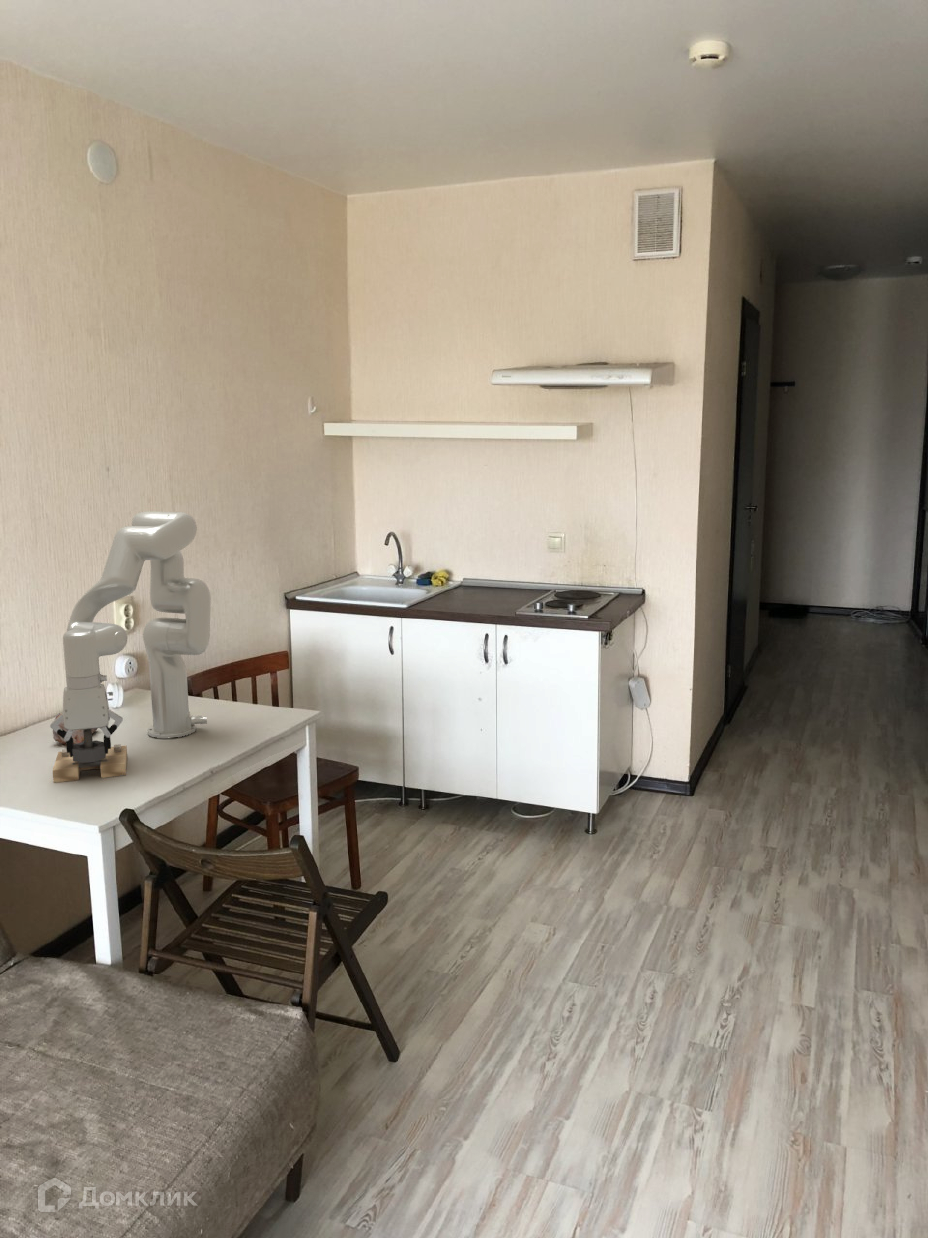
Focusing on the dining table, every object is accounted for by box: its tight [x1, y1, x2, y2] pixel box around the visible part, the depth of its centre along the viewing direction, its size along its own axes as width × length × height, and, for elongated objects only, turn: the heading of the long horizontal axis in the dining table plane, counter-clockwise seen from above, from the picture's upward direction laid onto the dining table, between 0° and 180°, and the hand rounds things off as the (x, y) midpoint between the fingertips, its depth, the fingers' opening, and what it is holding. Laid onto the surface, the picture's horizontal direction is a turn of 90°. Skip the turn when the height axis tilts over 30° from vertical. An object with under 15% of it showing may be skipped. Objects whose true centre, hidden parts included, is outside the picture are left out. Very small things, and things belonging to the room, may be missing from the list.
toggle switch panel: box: [52, 729, 128, 783], centre depth 239 cm, size 16×14×11 cm
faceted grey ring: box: [72, 740, 106, 763], centre depth 236 cm, size 7×7×3 cm
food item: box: [52, 712, 98, 745], centre depth 263 cm, size 14×8×10 cm, turn 0°
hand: (89, 753), depth 236 cm, fingers closed on faceted grey ring, 7 cm apart
